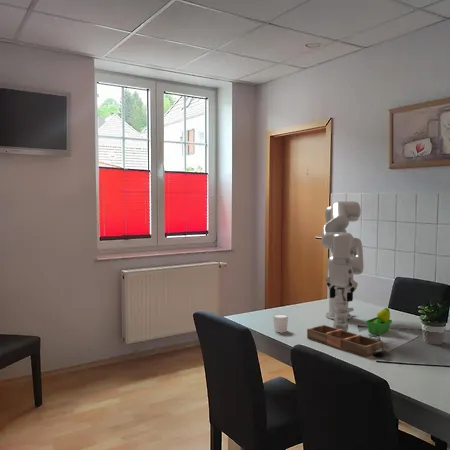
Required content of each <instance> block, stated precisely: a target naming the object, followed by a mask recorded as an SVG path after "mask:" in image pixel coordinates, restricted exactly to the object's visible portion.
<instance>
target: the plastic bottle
mask: <svg viewBox="0 0 450 450" xmlns="http://www.w3.org/2000/svg"><path fill="white" fill-rule="evenodd" d="M336 292H337V294H336V295H335V297H334V299H333V302H334V310H335V317H334V319H333V326H332V327H333V328H336V329H341V330H343V331H347V332H349V323H348V320H347V307H348V308H349V302H347V296H346V295H345V288H337V291H336Z"/></svg>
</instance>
